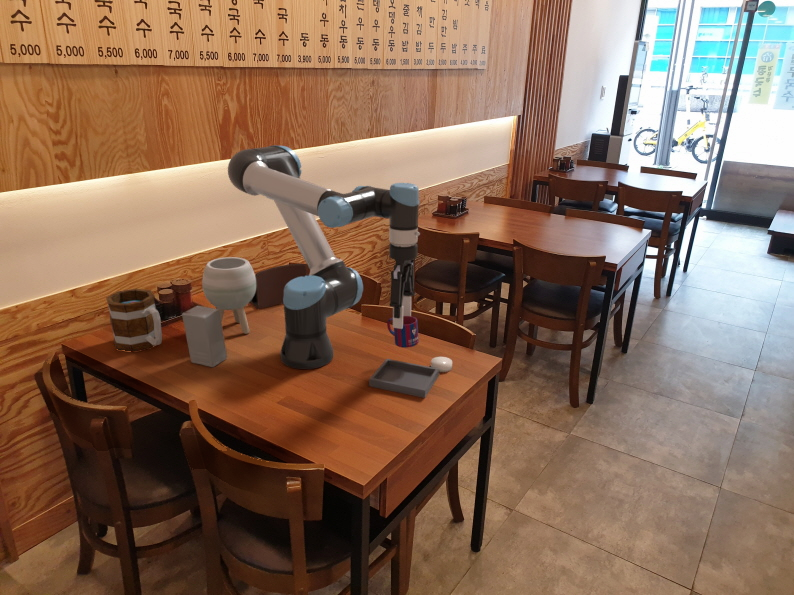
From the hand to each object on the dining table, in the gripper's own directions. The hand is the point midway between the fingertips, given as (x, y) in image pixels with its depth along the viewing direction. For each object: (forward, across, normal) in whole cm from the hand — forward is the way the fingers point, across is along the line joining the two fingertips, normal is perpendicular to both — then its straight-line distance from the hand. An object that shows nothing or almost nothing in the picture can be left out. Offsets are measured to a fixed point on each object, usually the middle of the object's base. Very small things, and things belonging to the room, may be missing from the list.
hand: (402, 322), depth 162 cm
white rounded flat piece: (+13, +2, -11) cm, 18 cm away
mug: (+13, -16, +76) cm, 79 cm away
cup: (+6, +1, 0) cm, 6 cm away
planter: (+13, +4, +58) cm, 59 cm away
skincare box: (+13, -18, +52) cm, 57 cm away
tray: (+13, -9, -4) cm, 16 cm away
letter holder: (+13, +32, +57) cm, 67 cm away
